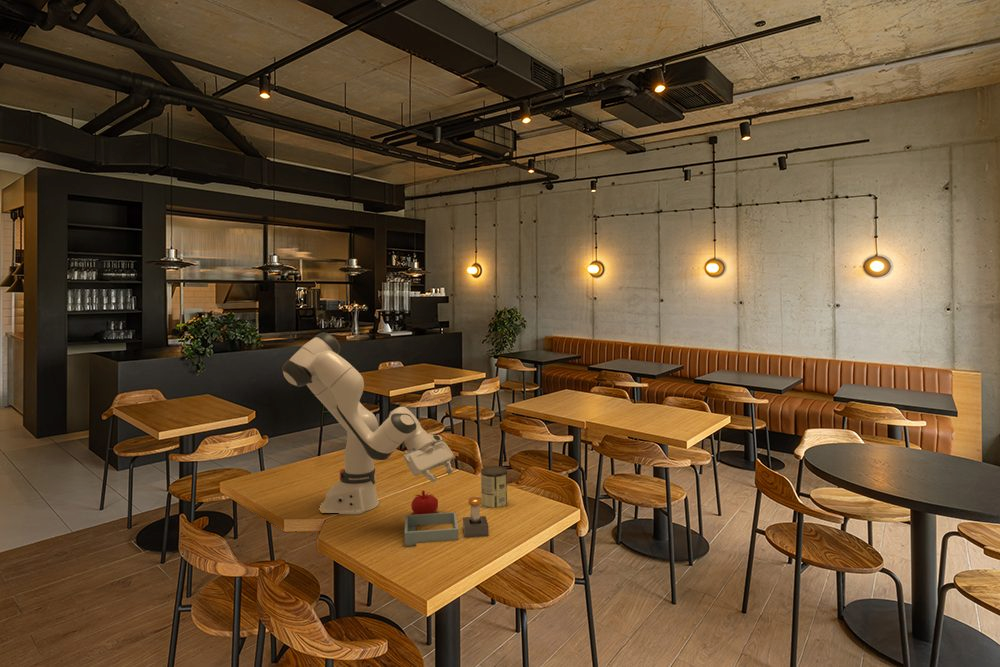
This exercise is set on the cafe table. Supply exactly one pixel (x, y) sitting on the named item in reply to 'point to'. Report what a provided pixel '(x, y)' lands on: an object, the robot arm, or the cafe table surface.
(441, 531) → the tray
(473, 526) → the dark grey socket block
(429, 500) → the red round piece
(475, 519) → the lock pin
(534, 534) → the cafe table surface
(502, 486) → the coffee can
